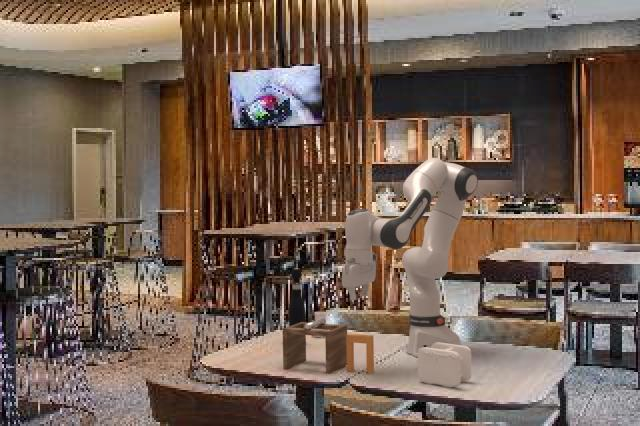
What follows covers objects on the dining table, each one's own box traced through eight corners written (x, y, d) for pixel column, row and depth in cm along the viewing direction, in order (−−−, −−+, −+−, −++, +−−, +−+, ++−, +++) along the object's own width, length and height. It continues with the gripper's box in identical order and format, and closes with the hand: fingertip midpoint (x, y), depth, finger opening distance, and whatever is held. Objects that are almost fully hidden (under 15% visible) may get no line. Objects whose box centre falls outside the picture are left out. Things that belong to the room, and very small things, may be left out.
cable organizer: (474, 383, 262) (474, 347, 261) (457, 390, 254) (456, 352, 253) (434, 376, 272) (433, 341, 271) (416, 382, 264) (415, 346, 263)
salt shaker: (309, 338, 338) (309, 313, 338) (314, 334, 346) (313, 310, 345) (327, 338, 337) (327, 314, 336) (331, 335, 344) (331, 311, 344)
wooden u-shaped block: (373, 372, 279) (373, 335, 278) (371, 373, 276) (370, 336, 276) (349, 369, 283) (349, 333, 282) (346, 371, 280) (346, 334, 280)
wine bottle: (303, 347, 320) (302, 270, 318) (287, 347, 321) (286, 270, 320) (307, 344, 326) (306, 268, 325) (291, 343, 327) (290, 268, 326)
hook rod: (326, 324, 292) (325, 318, 292) (308, 330, 280) (308, 324, 280) (321, 323, 293) (320, 318, 293) (303, 330, 281) (303, 324, 281)
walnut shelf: (347, 365, 289) (347, 325, 289) (329, 373, 277) (329, 332, 276) (302, 360, 298) (301, 321, 297) (283, 368, 285) (282, 328, 284)
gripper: (354, 260, 267) (354, 303, 268) (379, 254, 285) (379, 294, 286) (336, 260, 270) (337, 302, 271) (362, 254, 288) (362, 293, 289)
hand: (359, 298), depth 278 cm, fingers open, 8 cm apart
